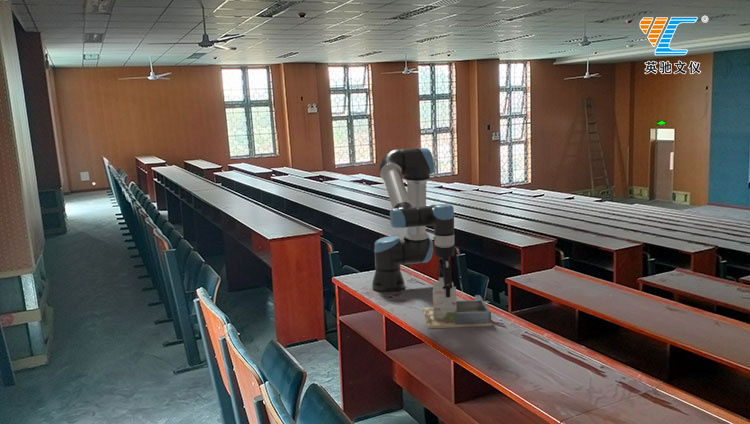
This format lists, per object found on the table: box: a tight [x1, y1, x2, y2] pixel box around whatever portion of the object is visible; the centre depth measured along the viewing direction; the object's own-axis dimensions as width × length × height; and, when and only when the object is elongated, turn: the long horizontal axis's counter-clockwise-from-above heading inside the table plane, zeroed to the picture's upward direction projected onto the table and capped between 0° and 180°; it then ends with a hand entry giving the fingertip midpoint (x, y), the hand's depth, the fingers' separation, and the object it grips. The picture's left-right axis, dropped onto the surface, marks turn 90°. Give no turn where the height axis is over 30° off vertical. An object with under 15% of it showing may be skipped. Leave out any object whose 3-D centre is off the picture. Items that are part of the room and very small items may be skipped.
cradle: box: [422, 306, 493, 329], centre depth 229 cm, size 21×24×4 cm
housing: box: [455, 294, 492, 324], centre depth 229 cm, size 21×14×4 cm, turn 1°
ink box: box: [432, 281, 457, 319], centre depth 226 cm, size 9×5×15 cm, turn 72°
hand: (445, 299), depth 225 cm, fingers open, 13 cm apart
